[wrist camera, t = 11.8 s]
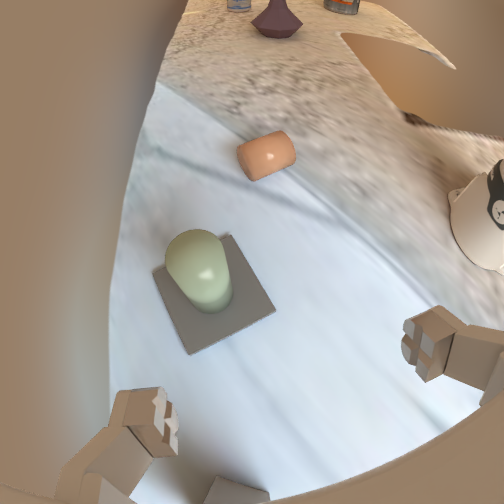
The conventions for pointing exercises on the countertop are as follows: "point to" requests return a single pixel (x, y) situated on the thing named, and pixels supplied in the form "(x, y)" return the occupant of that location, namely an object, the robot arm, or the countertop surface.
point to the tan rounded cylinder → (266, 155)
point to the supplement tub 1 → (238, 5)
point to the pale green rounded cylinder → (200, 270)
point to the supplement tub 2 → (342, 6)
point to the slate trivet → (227, 321)
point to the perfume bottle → (234, 493)
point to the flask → (277, 20)
